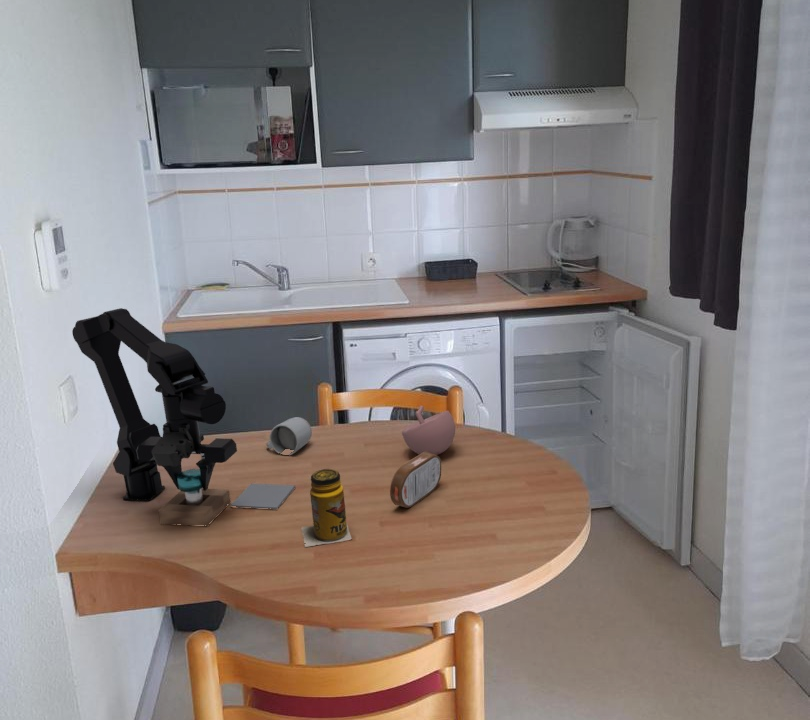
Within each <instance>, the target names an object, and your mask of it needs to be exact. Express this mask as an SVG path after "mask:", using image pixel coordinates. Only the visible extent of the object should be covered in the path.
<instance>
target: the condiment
mask: <svg viewBox="0 0 810 720" xmlns="http://www.w3.org/2000/svg"><path fill="white" fill-rule="evenodd" d="M310 482H311V484H310V486H311V488H310V491H309V496H310V504H311V514H312V516H311V517H312V523H313V525H309V526H307V525H306V526H302V527H300V528H301V533H302V537H305V538H304V539H303V544H304V543H306V544H304V548H309V547H315V546H321V545H327V544H333V543H339V542H341V543H342V542H344V541H345V542H347V541H349V540H352V539H353V538H352V535H351V533H350V529H349V525H348V523H347V522H348V521H347V513H346V504H345V493H344V487H343V485H342V482H341V475H340V472H339V471H338V470H335V469H330V468H329V469H328V468H324V469H319V470H317V471H314V473H312V474H311V476H310ZM303 534H304V535H303Z"/></svg>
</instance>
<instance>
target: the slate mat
mask: <svg viewBox="0 0 810 720" xmlns="http://www.w3.org/2000/svg"><path fill="white" fill-rule="evenodd" d="M294 488H295V489H296V485H293V484H269V483H268V484H266V483H250V484H249V485H248V486H247V487H246V489H244V490H243V492H241V493H240V494H239V496H238V497H237V498H236V499H235V500H234V501H233V502H231V503H230V507H231V506H236V507H251V508H268V509H270V508H271V509H277V508H278V507H279V506H280V505H281V504H282V502H283V501H284V500H285V499H286V498H287V497H288V496H289V497H290V495H291V494H292V493H293V492H294V490H295V489H294ZM292 491H293V492H292ZM291 492H292V493H291ZM290 493H291V494H290ZM289 494H290V495H289ZM289 497H288V498H289ZM288 498H287V499H288ZM287 499H286V500H287ZM286 500H285V501H286ZM285 501H284V502H285ZM282 505H283V504H282ZM282 505H281V506H282ZM281 506H280V507H281ZM280 507H279V508H280Z"/></svg>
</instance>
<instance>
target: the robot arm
mask: <svg viewBox="0 0 810 720" xmlns="http://www.w3.org/2000/svg"><path fill="white" fill-rule="evenodd" d="M72 337H73V340H74V342H76V344H77V346H78V347H79V349H80V350H79V351H80V352H81V353H82V354H83V355H84V356H86V357H87V358H88V359H90V361H92V362H93V363H94V364H95V367H96V369H97V372H98V375H99V377H100V380H101V382H102V385H103V387H104V388H103V389H104V390H105V393H106V396H107V398H108V401H109V403H110V406H111V409H112V410H113V414H114V416H115V419H116V421H117V424H118V426H119V430H118V435H117V440H116V445H117V448H118V453H117V455H116V457H115V459H114V460H113V462H112V465H113V468H114V471H115V473H117V474H118V475H122V476H123V480H124V485H125V490H126V494H125V495H124V496H123V497H122V499H123V501H124V500H125V501H142V502H150V501H151V500H153V499H154V498H155V497H157V496H158V495H159V494H160V493H161V492H163V491H164V490H165V489H166V485H163V484H162V479H161V478H162V477H161V472H159V469H158V467H162V468H164V470H165V471H166V472H167V474H168V476H169V477H170V479H171V481H172V483H174V485H175V488H176V489H177V490H179V487H178V481H177V475H178V474H179V473H181V472H183V470H182V462H183V461H182V460H183V459H189V458H190V457H191V455H200V459H199V460H198V461H197V462H196V464H195V465H196V466H197V467H198V469H200V474H201V482H202V487H203V488H202V489H203V490H204V491H206V490H207V489H209V485H210V481H211V478H212V475H213V471H214V468H215V466H216V464H217V463H218V464H219V463H220V464H222V463H225V462H227V461H229V459H231V457H233V455H235V454H236V453H237V452H238V448H237V443H236V441H235V440H234V439H233V438H215V439H214V440H212V442H210V443H208V444H207V443H202V442H203V441H205V437H204V434H200V428H199V427H200V426H199V423H203V424H208V425H215V424H217V423H219V422H220V421H221V420H222V419H223V418H224V416H225V414H226V408H227V407H226V406H227V405H226V401H225V400H224V398H223V396H222V395H221V394H219V393H216V392H215V388H214V386H205V385H207V384H208V383H209V381H208V378H207V377H206V376H205V375H206V373H205V372H204V370H203V369H202V368H201V366H200V365H199V364H198V361H196V358H195V357H194V355H193V353H191V352H190V351H189V350H188V349H186V348H185V347H182V346H181V345H179V344H176V343H172V342H166V341H164V340H162V339H161V338H160V337H158V336H157V335H155V334H154V333H153V332H152V331H151V330H149V329H148V328H147V327H146V326H144V325H143V324H142V323H141V322H139V321H138V320H136V319H135V318H134V317H133V316H132V315H131V313H130V311H129V310H128V309H127V308H120V307H119V308H117V309H112V310H108V311H104V312H102V313H101V314H99V315H97V316H92V317H88V318H84V319H80V320H76V322H75V325H74V327H73V328H72ZM122 343H123V344H124V345H126V346H127V347H128V348H129V349H130V350H131V351H132V352H134V353H135V354H137V355H138V357H140V358H141V359H142V360H143V361H144V362H145V363H146V368H147V369H146V370H147V372H148V374H149V375H150V376H151V377H152V378H153V379H154V380H155V381H156V382H157V383H158V385H156V387H155V389H154V390H155V393H156V392H157V393H161V396H162V403H163V408H164V409H163V410H164V415H165V423H164V424H163V425H162V431H163V432H162V436H161V434H160V431H159V427H158V425H157V424H156V423H150V422H148V420H145V418H144V416H143V413H142V411H141V409H140V407H139V404H138V401H137V399H136V396H135V394H134V391H133V388H132V385H131V383H130V380H129V378H128V376H127V372H126V370H125V367H124V365H123V362H122V360H121V357H120V353H119V352H120V348H121V344H122ZM188 378H189V379H188ZM183 380H184V381H183ZM179 381H180V382H179ZM179 491H180V490H179Z"/></svg>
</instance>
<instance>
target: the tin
mask: <svg viewBox="0 0 810 720" xmlns="http://www.w3.org/2000/svg"><path fill="white" fill-rule="evenodd" d="M441 477H442V459H441V458H440V456H439V455H435V454H431V453H429V452H423V453H421V454H417V455H416V456H414V457H413V458H411V459H409V460H408V461H407V462H405V463H403V464H401V465H400V466H399V467H398V468H397V469H396V471H395V473H394V475H393V477H392V479H391V483H390V488H389V489H390V490H389V496H390V500H391V503H393V505H395V506H400V507H402V508H406V509H407V508H411V507H413V506H414V505H416V504H418V503H419V502H420V501H422V500H423V499H424V498H426V497H428V496H429V495H430V494H432V493H433V492H434V491H435V490H436V489H437V487H438V485H439V483H440V480H441Z"/></svg>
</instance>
